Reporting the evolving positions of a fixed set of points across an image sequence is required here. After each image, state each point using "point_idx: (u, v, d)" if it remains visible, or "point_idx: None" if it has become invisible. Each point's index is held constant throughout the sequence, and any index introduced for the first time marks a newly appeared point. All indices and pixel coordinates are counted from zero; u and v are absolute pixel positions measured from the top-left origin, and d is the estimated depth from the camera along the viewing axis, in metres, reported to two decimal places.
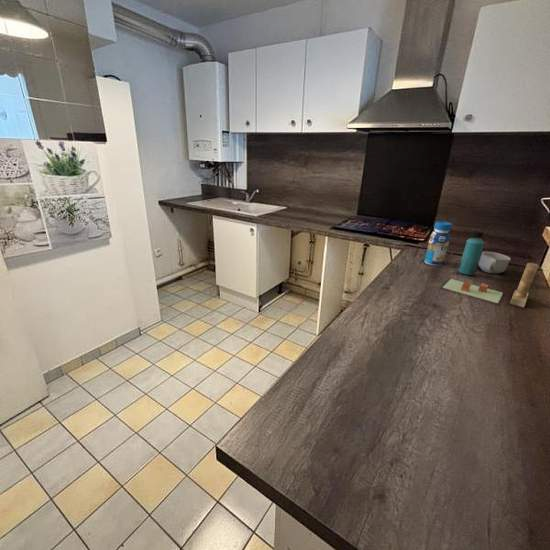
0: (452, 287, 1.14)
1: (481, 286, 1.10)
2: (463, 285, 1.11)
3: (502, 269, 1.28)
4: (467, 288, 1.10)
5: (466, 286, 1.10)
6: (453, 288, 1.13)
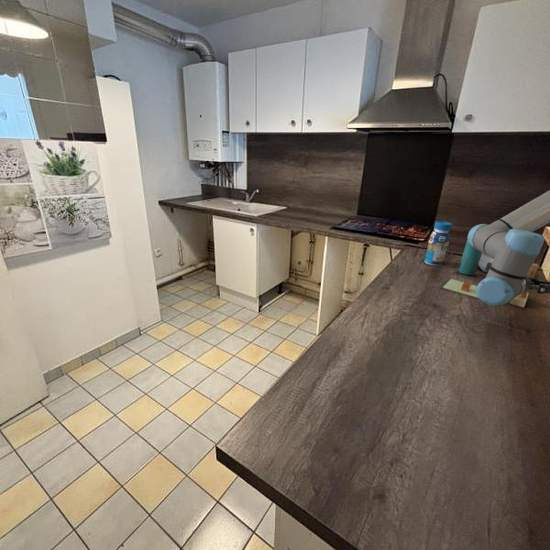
0: (452, 287, 1.14)
1: None
2: (463, 285, 1.11)
3: None
4: (467, 288, 1.10)
5: (466, 286, 1.10)
6: (453, 288, 1.13)
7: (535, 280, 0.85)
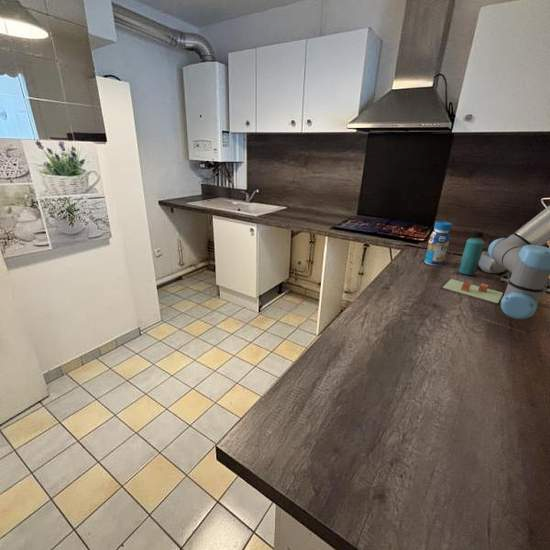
0: (452, 287, 1.14)
1: (481, 286, 1.10)
2: (463, 285, 1.11)
3: (502, 269, 1.28)
4: (467, 288, 1.10)
5: (466, 286, 1.10)
6: (453, 288, 1.13)
7: None
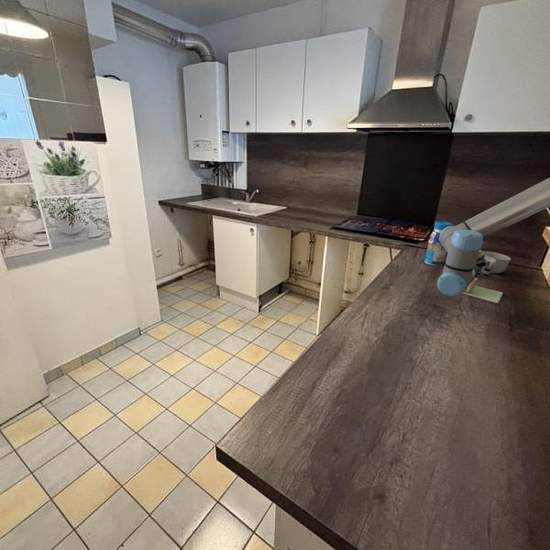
0: None
1: None
2: None
3: (502, 269, 1.28)
4: None
5: None
6: None
7: (477, 264, 1.01)
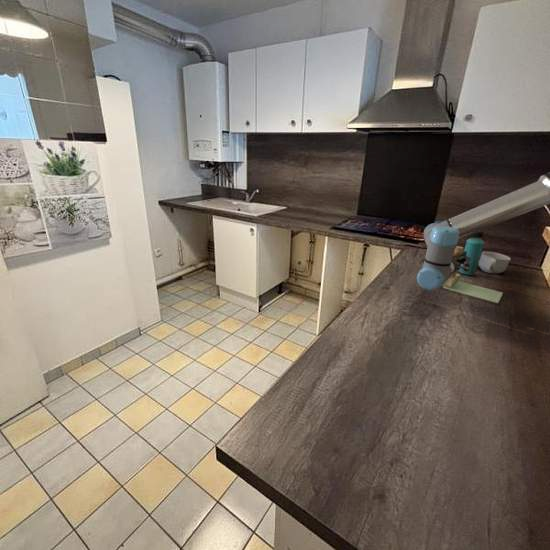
0: (452, 287, 1.14)
1: None
2: None
3: (502, 269, 1.28)
4: None
5: None
6: (453, 288, 1.13)
7: (458, 260, 1.05)
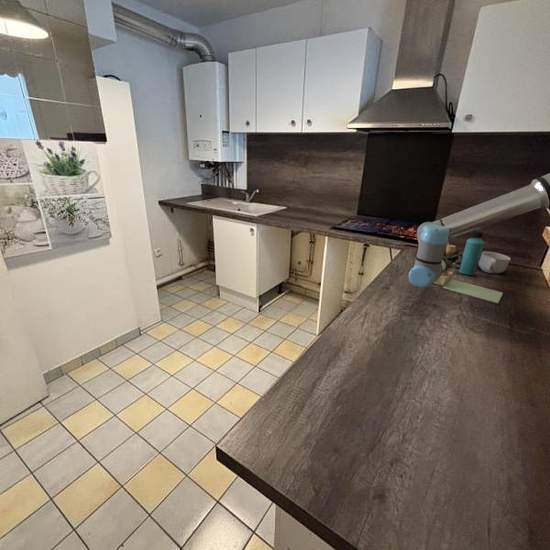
0: (452, 287, 1.14)
1: None
2: None
3: (502, 269, 1.28)
4: None
5: None
6: (453, 288, 1.13)
7: (450, 258, 1.07)
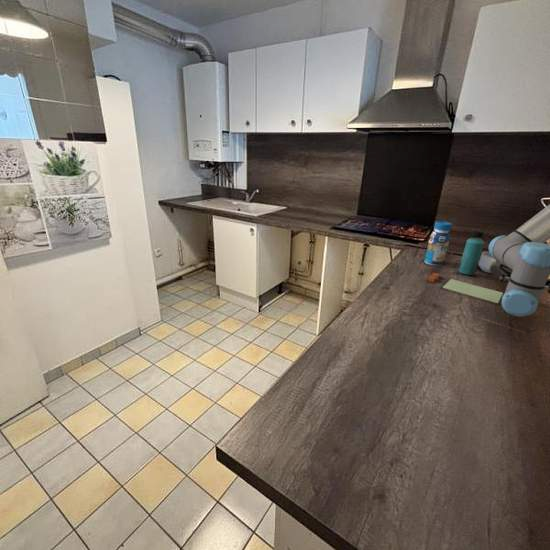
0: (452, 287, 1.14)
1: (433, 275, 1.22)
2: None
3: None
4: (431, 279, 1.18)
5: (429, 279, 1.19)
6: (453, 288, 1.13)
7: None
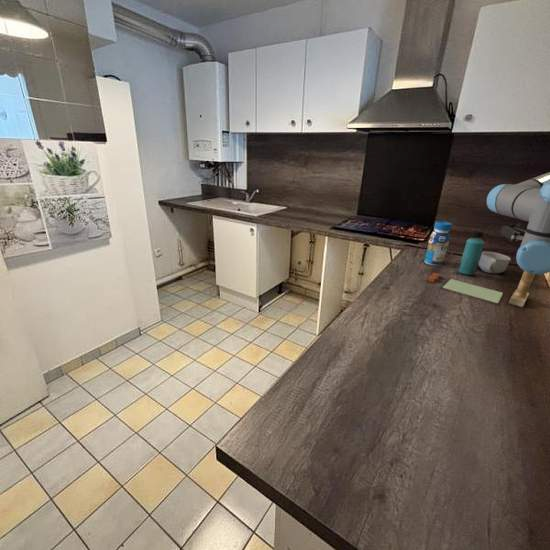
0: (452, 287, 1.14)
1: (433, 275, 1.22)
2: None
3: (502, 269, 1.28)
4: (431, 279, 1.18)
5: (429, 279, 1.19)
6: (453, 288, 1.13)
7: None
